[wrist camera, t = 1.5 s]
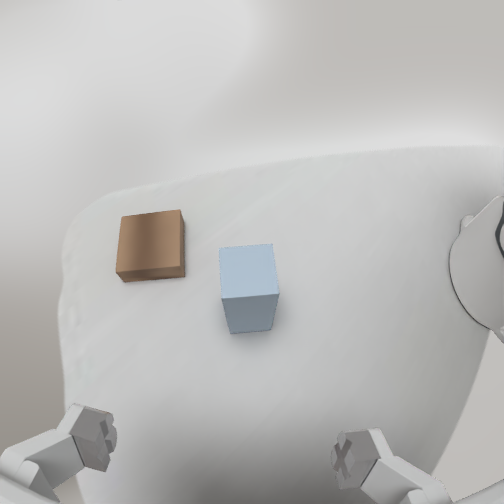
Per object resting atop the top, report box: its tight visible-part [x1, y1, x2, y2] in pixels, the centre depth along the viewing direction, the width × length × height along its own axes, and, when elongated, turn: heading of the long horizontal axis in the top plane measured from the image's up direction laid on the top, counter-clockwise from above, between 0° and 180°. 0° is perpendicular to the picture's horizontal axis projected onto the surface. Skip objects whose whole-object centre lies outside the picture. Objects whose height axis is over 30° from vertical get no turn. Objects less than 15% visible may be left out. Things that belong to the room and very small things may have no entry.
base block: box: [116, 210, 185, 282], centre depth 34 cm, size 7×7×3 cm
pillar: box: [219, 244, 279, 334], centre depth 27 cm, size 4×4×10 cm
